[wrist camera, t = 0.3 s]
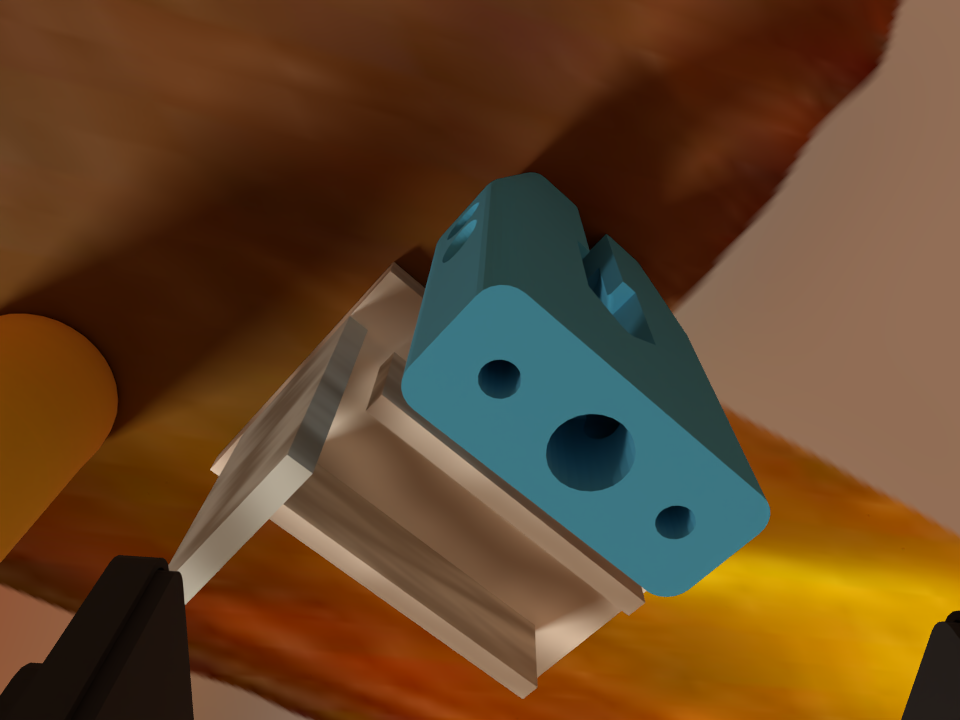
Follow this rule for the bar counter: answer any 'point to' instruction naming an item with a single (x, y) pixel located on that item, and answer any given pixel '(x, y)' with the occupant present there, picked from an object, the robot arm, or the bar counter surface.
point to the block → (579, 388)
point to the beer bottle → (46, 415)
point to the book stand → (404, 506)
